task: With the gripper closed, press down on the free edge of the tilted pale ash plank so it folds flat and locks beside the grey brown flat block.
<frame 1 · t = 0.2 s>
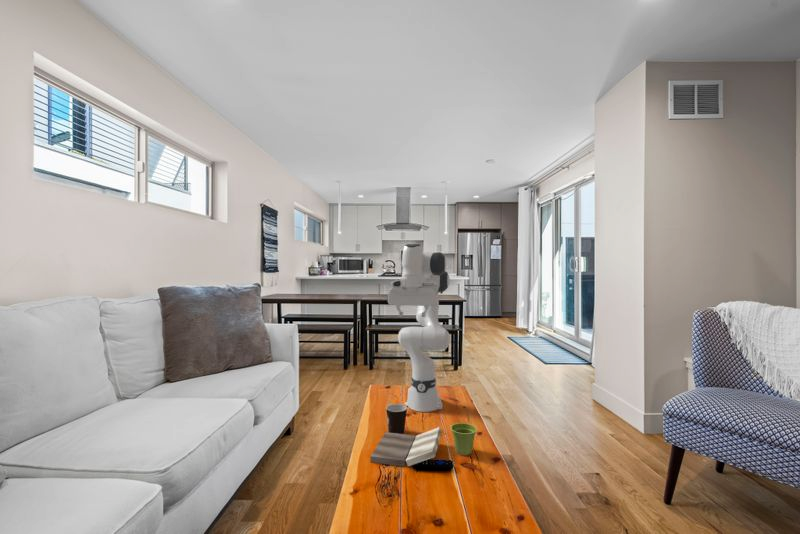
hand: (412, 316, 151), 48 cm above the table, tool pointing down, fingers open, 8 cm apart
coffee mug: (397, 431, 152), on the table
grey brown flat block: (394, 450, 135), on the table
ash plank: (424, 445, 133), point 3 cm above the table, hinge at 25.0°
plant pot: (463, 452, 135), on the table
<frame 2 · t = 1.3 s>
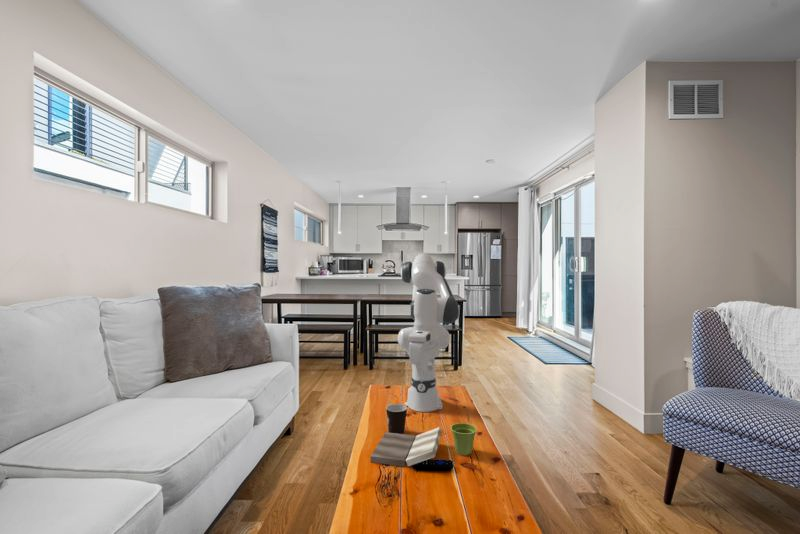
hand: (425, 372, 132), 30 cm above the table, tool pointing down, fingers open, 8 cm apart
nothing on the table moved.
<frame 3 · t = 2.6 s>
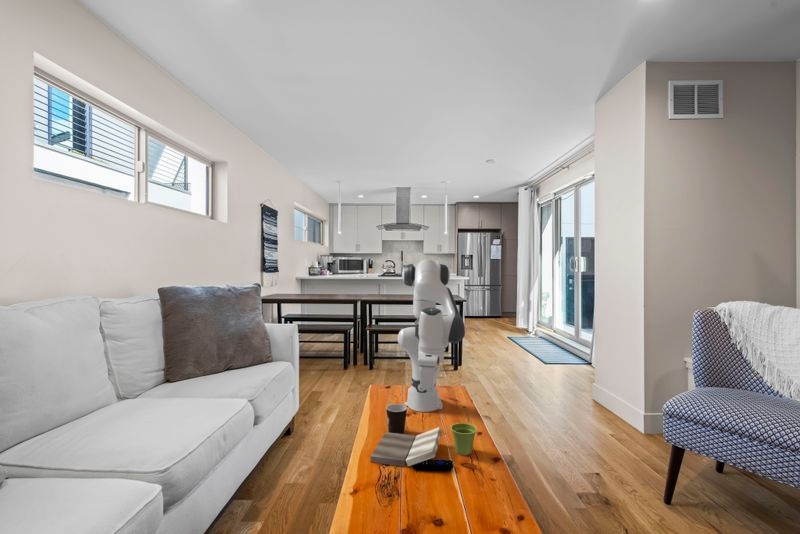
hand: (430, 395, 127), 23 cm above the table, tool pointing down, fingers closed
nothing on the table moved.
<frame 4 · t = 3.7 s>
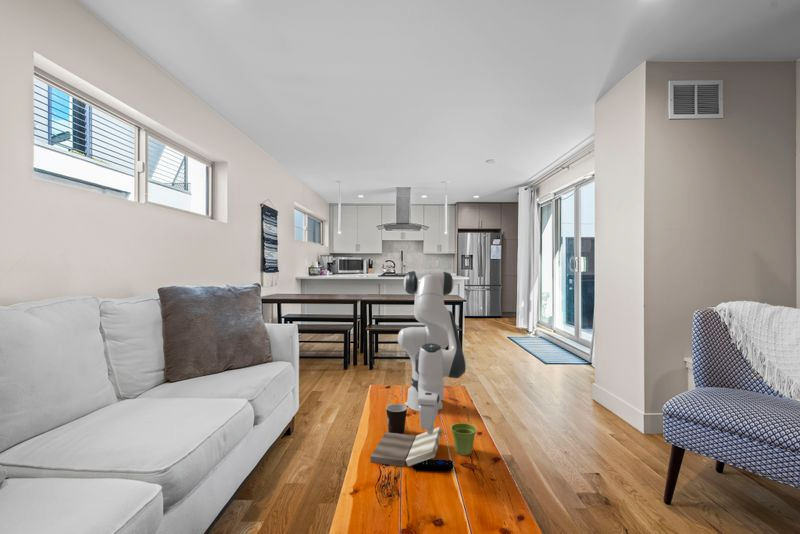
hand: (430, 432, 127), 10 cm above the table, tool pointing down, fingers closed
nothing on the table moved.
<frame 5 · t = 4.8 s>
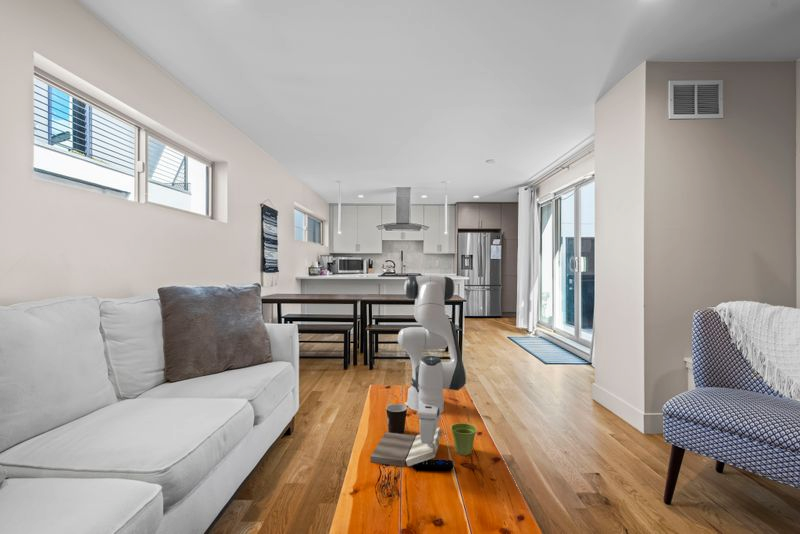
hand: (430, 445, 127), 6 cm above the table, tool pointing down, fingers closed, pressing on ash plank
ash plank: (424, 445, 133), point 3 cm above the table, hinge at 24.4°, touching gripper
everything else where it was.
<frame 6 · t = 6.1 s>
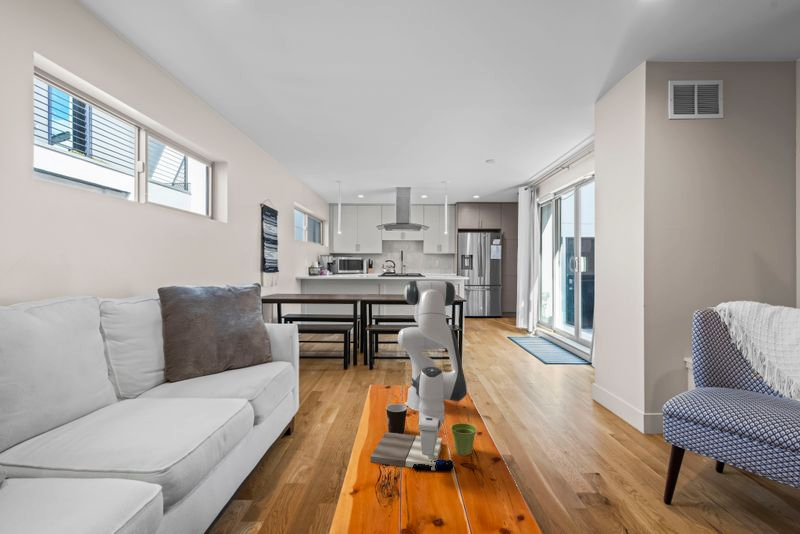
hand: (431, 456, 127), 2 cm above the table, tool pointing down, fingers closed, pressing on ash plank
ash plank: (425, 451, 132), point 1 cm above the table, hinge at 0.1°, touching gripper
everything else where it was.
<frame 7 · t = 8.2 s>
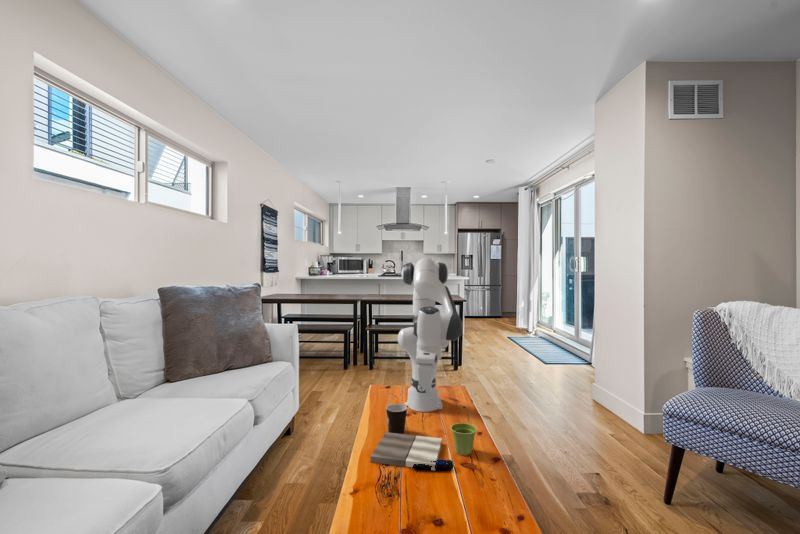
hand: (428, 392, 131), 23 cm above the table, tool pointing down, fingers closed
ash plank: (425, 451, 132), point 1 cm above the table, hinge at 0.0°
everything else where it was.
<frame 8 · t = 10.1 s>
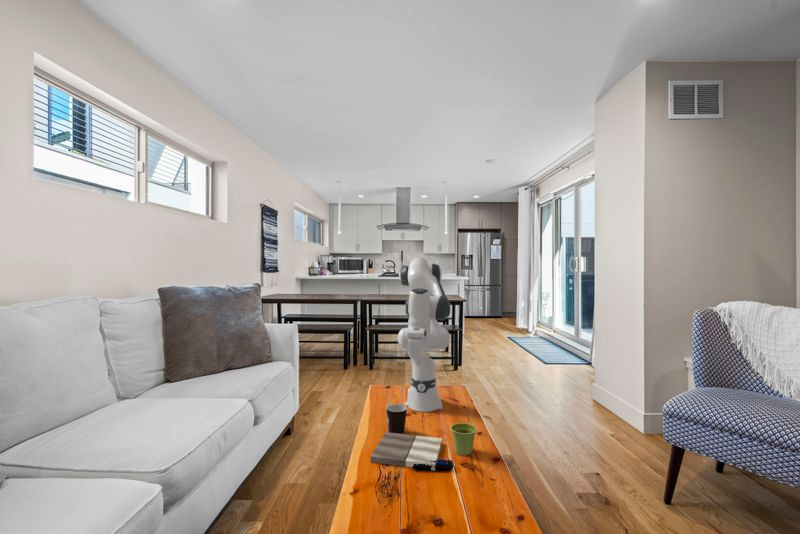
hand: (419, 365, 145), 29 cm above the table, tool pointing down, fingers closed
nothing on the table moved.
at the end: ash plank at +0° (first picture: +25°) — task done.
